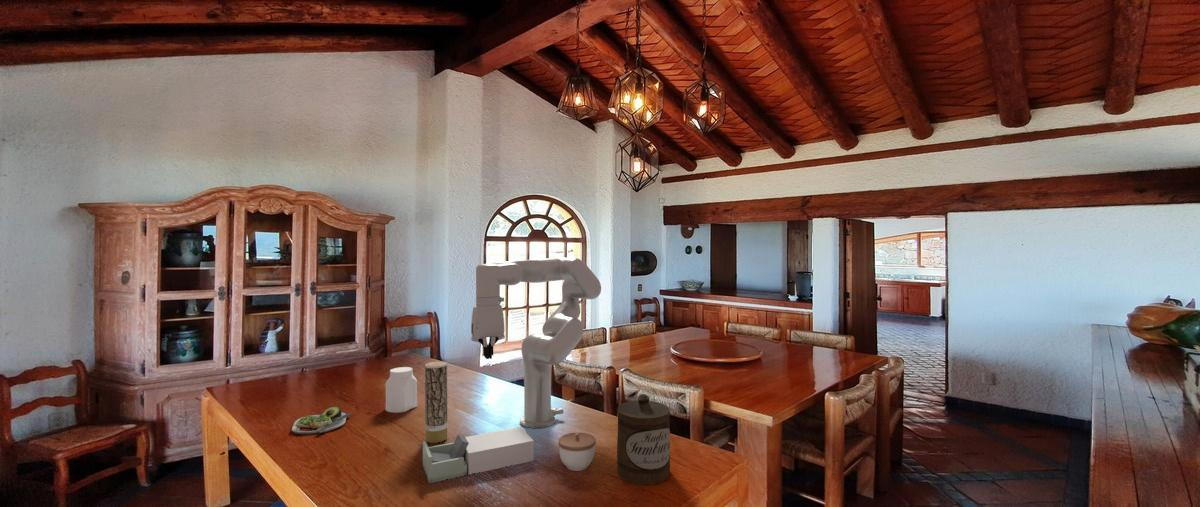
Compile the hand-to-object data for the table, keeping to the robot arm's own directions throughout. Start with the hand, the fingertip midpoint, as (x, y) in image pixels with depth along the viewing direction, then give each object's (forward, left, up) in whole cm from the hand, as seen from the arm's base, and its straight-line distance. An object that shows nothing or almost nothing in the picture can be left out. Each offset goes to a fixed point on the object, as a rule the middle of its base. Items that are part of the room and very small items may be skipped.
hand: (488, 357), depth 157 cm
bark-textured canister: (+15, -8, -27) cm, 32 cm away
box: (+17, +15, -27) cm, 35 cm away
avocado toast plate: (+49, -41, -28) cm, 70 cm away
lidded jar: (-18, +30, -27) cm, 44 cm away
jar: (+22, -47, -27) cm, 59 cm away
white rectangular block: (+2, +15, -27) cm, 31 cm away
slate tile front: (+17, +15, -23) cm, 33 cm away
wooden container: (-33, +42, -27) cm, 60 cm away
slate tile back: (+12, +15, -22) cm, 29 cm away
